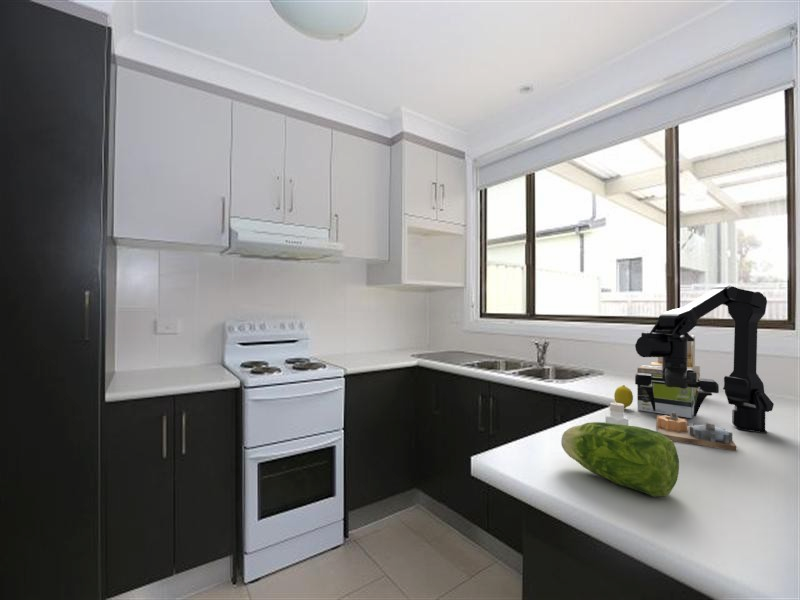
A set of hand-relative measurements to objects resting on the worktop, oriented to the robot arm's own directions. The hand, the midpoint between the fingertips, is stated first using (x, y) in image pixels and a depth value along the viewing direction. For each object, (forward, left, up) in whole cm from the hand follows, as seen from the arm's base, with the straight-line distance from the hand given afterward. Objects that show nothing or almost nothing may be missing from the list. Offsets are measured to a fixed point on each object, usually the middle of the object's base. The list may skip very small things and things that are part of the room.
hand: (674, 413), depth 109 cm
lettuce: (+12, +46, -6) cm, 47 cm away
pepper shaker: (+13, +19, -5) cm, 23 cm away
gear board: (-4, +3, -5) cm, 7 cm away
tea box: (+1, -25, -6) cm, 26 cm away
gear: (+1, 0, -4) cm, 4 cm away
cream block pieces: (-5, -59, -6) cm, 59 cm away
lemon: (+13, -21, -5) cm, 26 cm away
